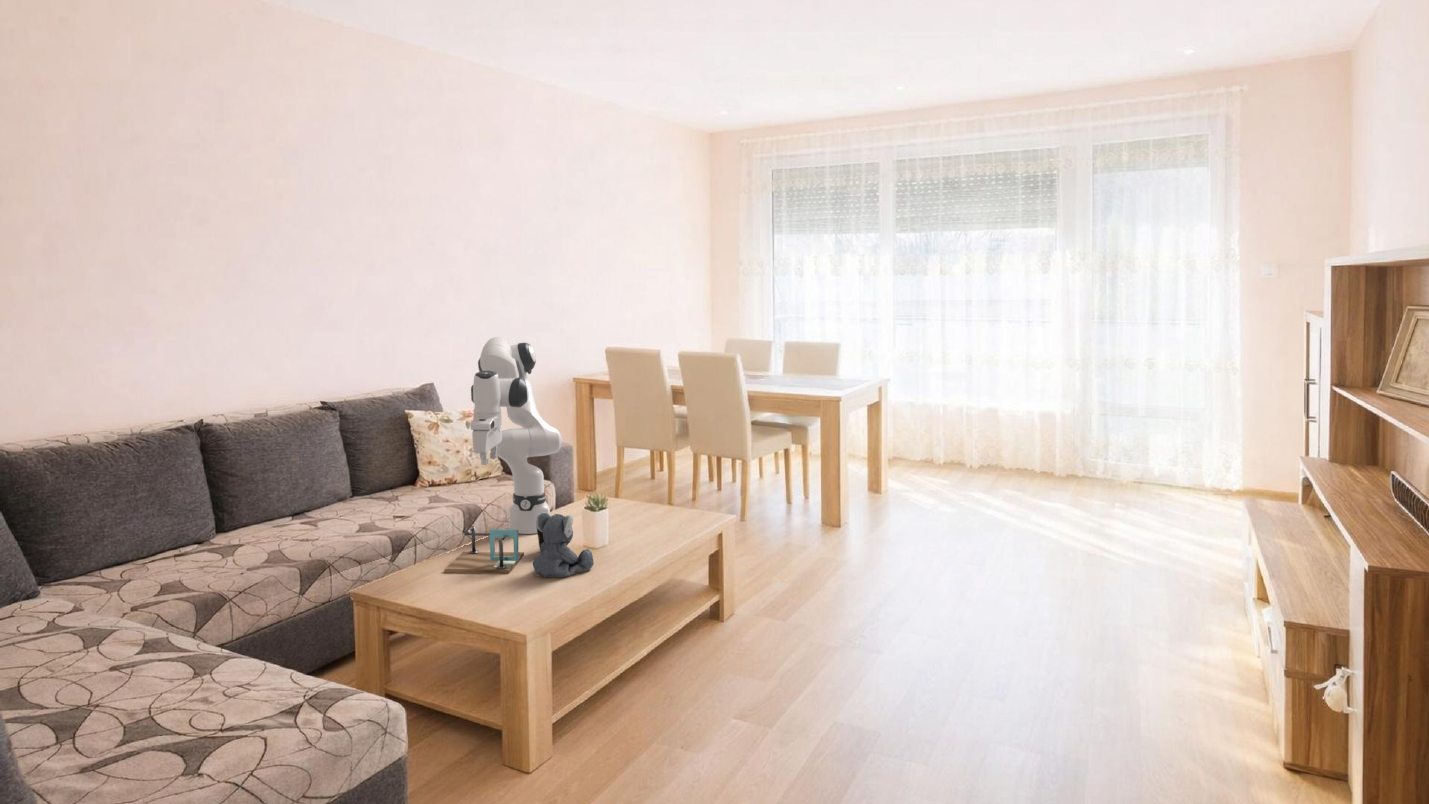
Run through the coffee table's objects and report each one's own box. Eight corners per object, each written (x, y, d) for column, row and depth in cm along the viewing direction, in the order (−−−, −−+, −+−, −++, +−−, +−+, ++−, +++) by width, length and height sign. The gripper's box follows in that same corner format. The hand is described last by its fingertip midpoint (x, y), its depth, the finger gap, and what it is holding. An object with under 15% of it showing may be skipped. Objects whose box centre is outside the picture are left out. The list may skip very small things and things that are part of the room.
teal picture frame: (491, 559, 281) (490, 529, 280) (518, 559, 281) (517, 529, 280) (490, 560, 280) (489, 530, 279) (517, 561, 280) (517, 530, 278)
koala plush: (597, 568, 280) (596, 510, 278) (558, 584, 266) (557, 523, 263) (559, 559, 290) (557, 503, 287) (519, 574, 275) (517, 514, 273)
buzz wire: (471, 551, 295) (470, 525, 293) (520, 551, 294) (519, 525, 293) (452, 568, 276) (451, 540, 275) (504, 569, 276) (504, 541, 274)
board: (463, 554, 294) (463, 550, 294) (524, 555, 294) (524, 551, 293) (444, 572, 276) (444, 568, 276) (509, 573, 275) (509, 569, 275)
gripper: (487, 415, 294) (488, 454, 296) (468, 425, 274) (470, 468, 276) (505, 415, 294) (506, 455, 296) (488, 425, 273) (489, 468, 275)
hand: (489, 461), depth 285 cm, fingers open, 8 cm apart
